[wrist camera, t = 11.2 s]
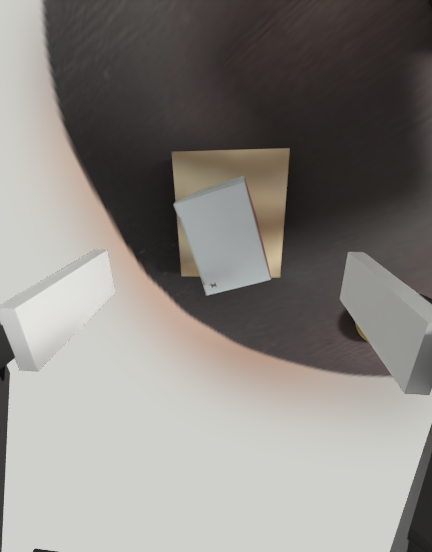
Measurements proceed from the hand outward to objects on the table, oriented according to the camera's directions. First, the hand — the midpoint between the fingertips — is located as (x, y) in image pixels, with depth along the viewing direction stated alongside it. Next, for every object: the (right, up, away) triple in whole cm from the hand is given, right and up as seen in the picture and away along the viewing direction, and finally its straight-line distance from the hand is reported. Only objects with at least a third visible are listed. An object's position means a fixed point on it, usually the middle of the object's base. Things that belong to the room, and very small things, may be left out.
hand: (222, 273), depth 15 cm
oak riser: (+2, +8, +19) cm, 20 cm away
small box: (+1, +6, +15) cm, 17 cm away
